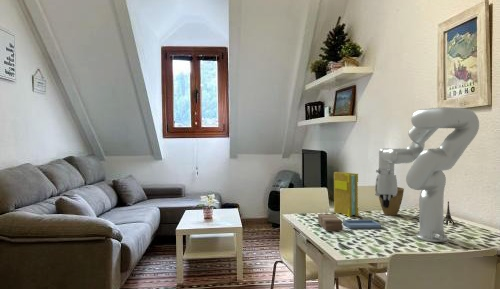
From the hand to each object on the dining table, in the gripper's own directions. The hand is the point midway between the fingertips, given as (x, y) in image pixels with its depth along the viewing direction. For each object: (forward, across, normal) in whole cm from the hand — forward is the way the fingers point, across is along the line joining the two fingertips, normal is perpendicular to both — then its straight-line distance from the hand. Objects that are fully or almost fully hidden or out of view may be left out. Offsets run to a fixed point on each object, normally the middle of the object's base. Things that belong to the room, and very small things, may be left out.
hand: (385, 207), depth 174 cm
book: (+11, -12, +30) cm, 34 cm away
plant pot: (+10, +15, +27) cm, 32 cm away
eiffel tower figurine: (+10, +35, +2) cm, 37 cm away
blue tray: (+10, -13, -1) cm, 16 cm away
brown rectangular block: (+10, -29, -1) cm, 31 cm away
